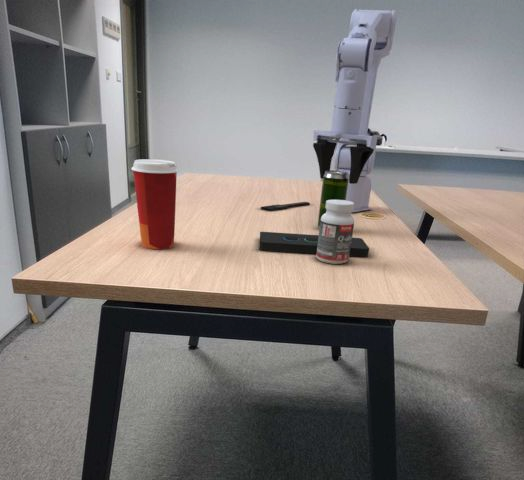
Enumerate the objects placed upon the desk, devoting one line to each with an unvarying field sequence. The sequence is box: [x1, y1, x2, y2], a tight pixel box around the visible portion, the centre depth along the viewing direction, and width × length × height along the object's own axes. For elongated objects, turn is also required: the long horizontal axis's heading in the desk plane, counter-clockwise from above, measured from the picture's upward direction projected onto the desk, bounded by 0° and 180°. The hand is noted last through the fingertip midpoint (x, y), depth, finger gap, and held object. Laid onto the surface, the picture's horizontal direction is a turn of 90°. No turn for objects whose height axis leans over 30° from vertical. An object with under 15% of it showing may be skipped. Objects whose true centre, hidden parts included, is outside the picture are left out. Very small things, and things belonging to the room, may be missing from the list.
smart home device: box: [258, 231, 370, 258], centre depth 89 cm, size 8×2×20 cm
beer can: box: [317, 169, 349, 230], centre depth 102 cm, size 5×5×12 cm
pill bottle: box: [315, 200, 355, 265], centre depth 81 cm, size 6×6×10 cm
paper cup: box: [131, 158, 179, 250], centre depth 81 cm, size 8×8×14 cm
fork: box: [260, 201, 310, 212], centre depth 124 cm, size 17×3×1 cm, turn 136°
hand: (338, 180), depth 100 cm, fingers open, 7 cm apart
